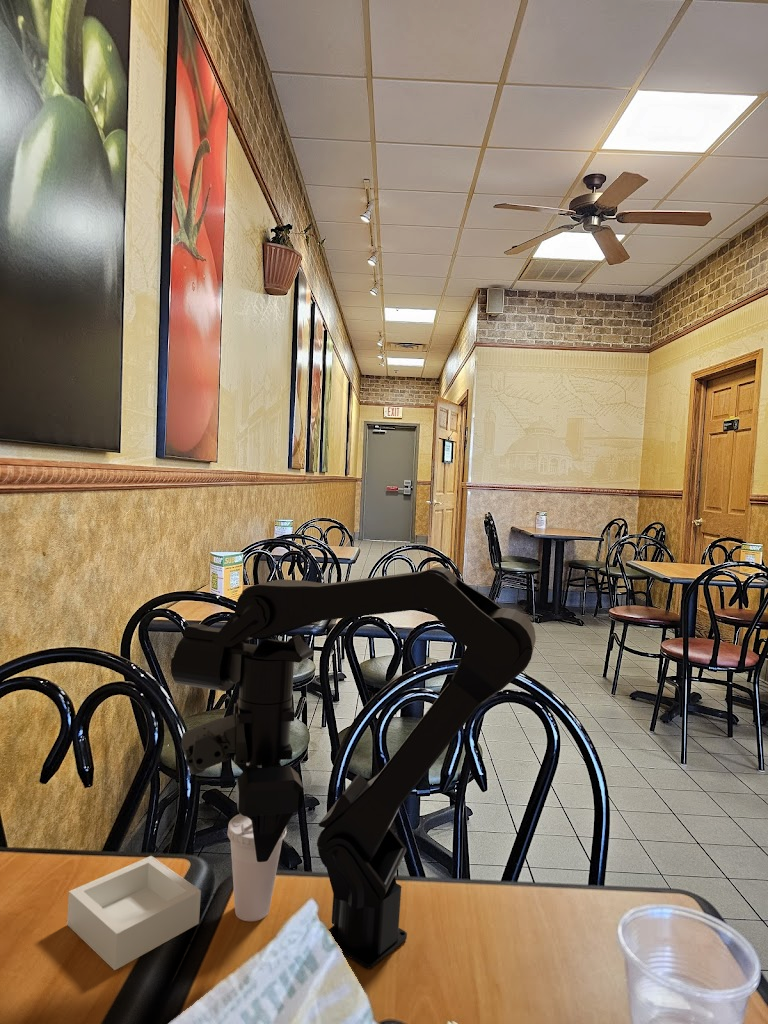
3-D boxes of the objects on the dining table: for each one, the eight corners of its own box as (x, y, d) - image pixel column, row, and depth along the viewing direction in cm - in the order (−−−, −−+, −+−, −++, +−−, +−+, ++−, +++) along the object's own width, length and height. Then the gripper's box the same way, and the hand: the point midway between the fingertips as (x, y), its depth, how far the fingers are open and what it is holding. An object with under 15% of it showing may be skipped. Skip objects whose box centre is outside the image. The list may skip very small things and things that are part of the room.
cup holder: (198, 923, 68) (200, 890, 68) (114, 970, 61) (116, 933, 61) (149, 885, 74) (151, 855, 74) (67, 924, 67) (68, 891, 67)
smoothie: (209, 915, 70) (217, 787, 70) (248, 886, 75) (255, 767, 75) (256, 937, 67) (265, 803, 67) (293, 905, 72) (301, 781, 72)
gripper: (189, 674, 77) (182, 804, 78) (187, 730, 59) (179, 898, 60) (282, 672, 80) (275, 797, 81) (308, 725, 63) (299, 884, 63)
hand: (257, 838), depth 71 cm, fingers open, 9 cm apart
